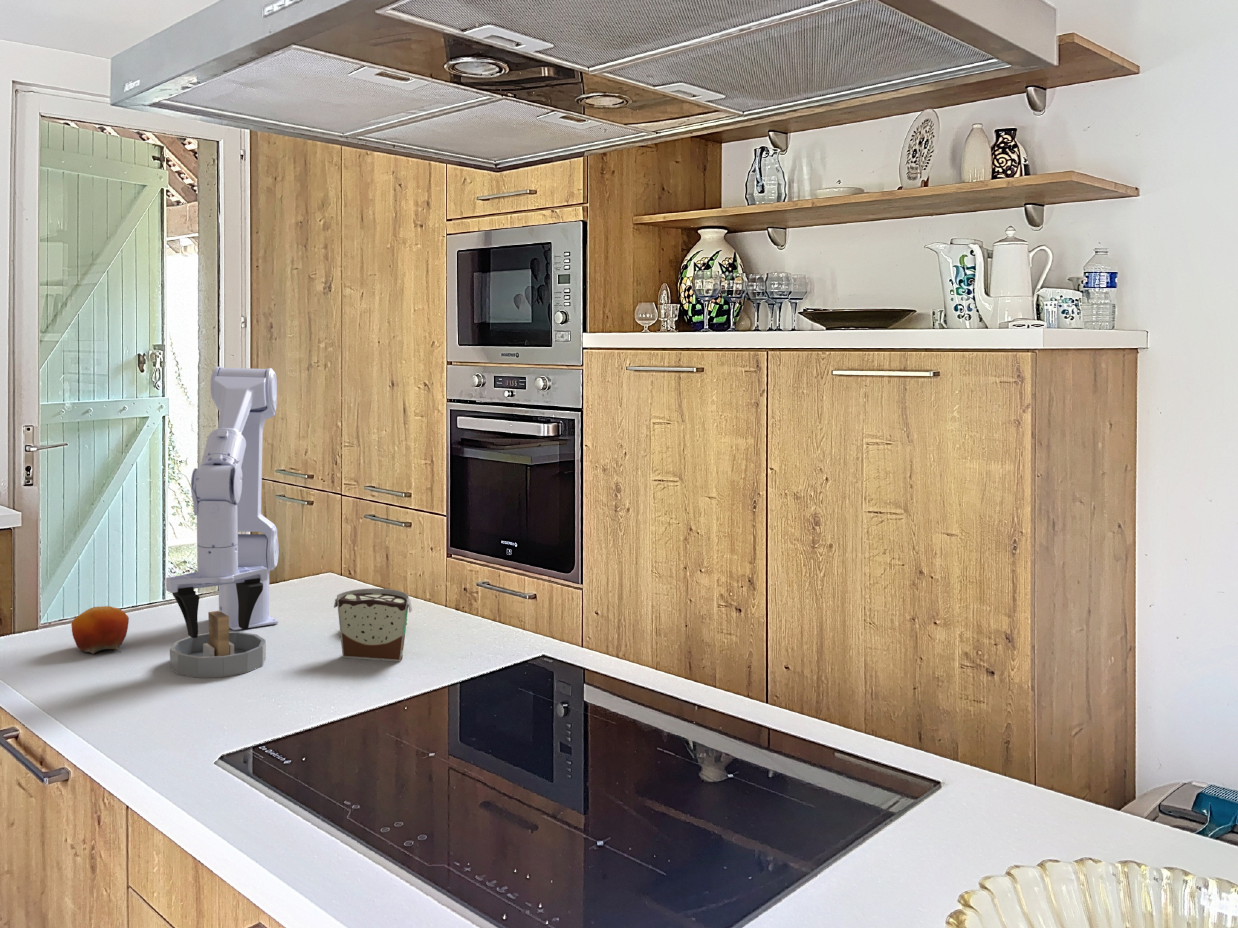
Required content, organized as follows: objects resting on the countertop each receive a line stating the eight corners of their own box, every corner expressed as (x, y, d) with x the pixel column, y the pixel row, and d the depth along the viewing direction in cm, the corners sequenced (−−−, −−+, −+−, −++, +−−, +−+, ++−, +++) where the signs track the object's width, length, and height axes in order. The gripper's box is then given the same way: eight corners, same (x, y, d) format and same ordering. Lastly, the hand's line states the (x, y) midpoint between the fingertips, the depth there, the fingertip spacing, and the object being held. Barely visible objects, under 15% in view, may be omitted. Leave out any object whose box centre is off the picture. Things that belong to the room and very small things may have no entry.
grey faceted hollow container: (159, 659, 161) (159, 640, 160) (244, 645, 169) (244, 627, 169) (189, 683, 151) (189, 663, 151) (278, 666, 160) (278, 647, 159)
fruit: (84, 654, 158) (75, 603, 160) (72, 668, 163) (64, 619, 166) (140, 644, 163) (131, 596, 165) (127, 659, 169) (118, 611, 171)
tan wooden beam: (208, 656, 161) (208, 612, 160) (219, 654, 162) (218, 610, 161) (218, 663, 158) (218, 618, 157) (229, 661, 159) (228, 616, 158)
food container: (421, 650, 170) (422, 590, 169) (409, 661, 164) (410, 599, 163) (347, 645, 172) (347, 585, 170) (333, 656, 165) (333, 594, 164)
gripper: (177, 554, 150) (178, 646, 152) (275, 543, 160) (275, 630, 161) (160, 545, 155) (162, 634, 157) (256, 535, 165) (257, 619, 167)
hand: (218, 631), depth 160 cm, fingers open, 7 cm apart
